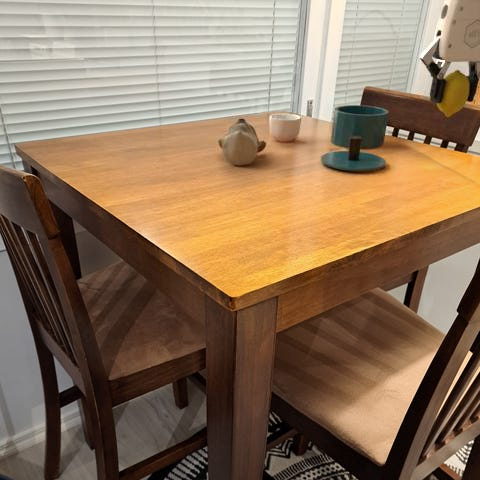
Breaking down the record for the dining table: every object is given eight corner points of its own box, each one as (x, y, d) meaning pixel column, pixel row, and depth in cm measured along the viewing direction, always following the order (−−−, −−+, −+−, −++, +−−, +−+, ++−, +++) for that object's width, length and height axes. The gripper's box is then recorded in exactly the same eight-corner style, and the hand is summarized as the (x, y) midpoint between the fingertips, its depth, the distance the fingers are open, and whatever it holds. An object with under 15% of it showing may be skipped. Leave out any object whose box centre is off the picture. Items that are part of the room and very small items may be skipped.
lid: (369, 154, 112) (373, 129, 109) (396, 172, 101) (401, 144, 98) (312, 157, 110) (314, 130, 107) (332, 175, 99) (336, 146, 96)
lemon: (450, 113, 97) (460, 67, 92) (469, 118, 92) (481, 71, 88) (426, 115, 95) (435, 68, 91) (444, 121, 91) (455, 72, 86)
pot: (370, 135, 128) (375, 104, 124) (391, 148, 118) (397, 114, 113) (324, 137, 126) (327, 105, 122) (341, 150, 116) (345, 115, 111)
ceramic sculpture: (212, 122, 97) (220, 112, 110) (212, 167, 101) (219, 152, 114) (266, 124, 97) (268, 114, 110) (264, 169, 101) (265, 154, 114)
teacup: (300, 143, 120) (302, 120, 117) (268, 143, 120) (269, 119, 117) (297, 134, 128) (299, 112, 125) (267, 133, 128) (268, 111, 125)
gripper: (440, -16, 78) (417, 107, 88) (537, -17, 80) (505, 103, 90) (417, -16, 84) (399, 99, 94) (508, -17, 86) (481, 96, 96)
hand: (451, 100), depth 92 cm, fingers closed on lemon, 5 cm apart
